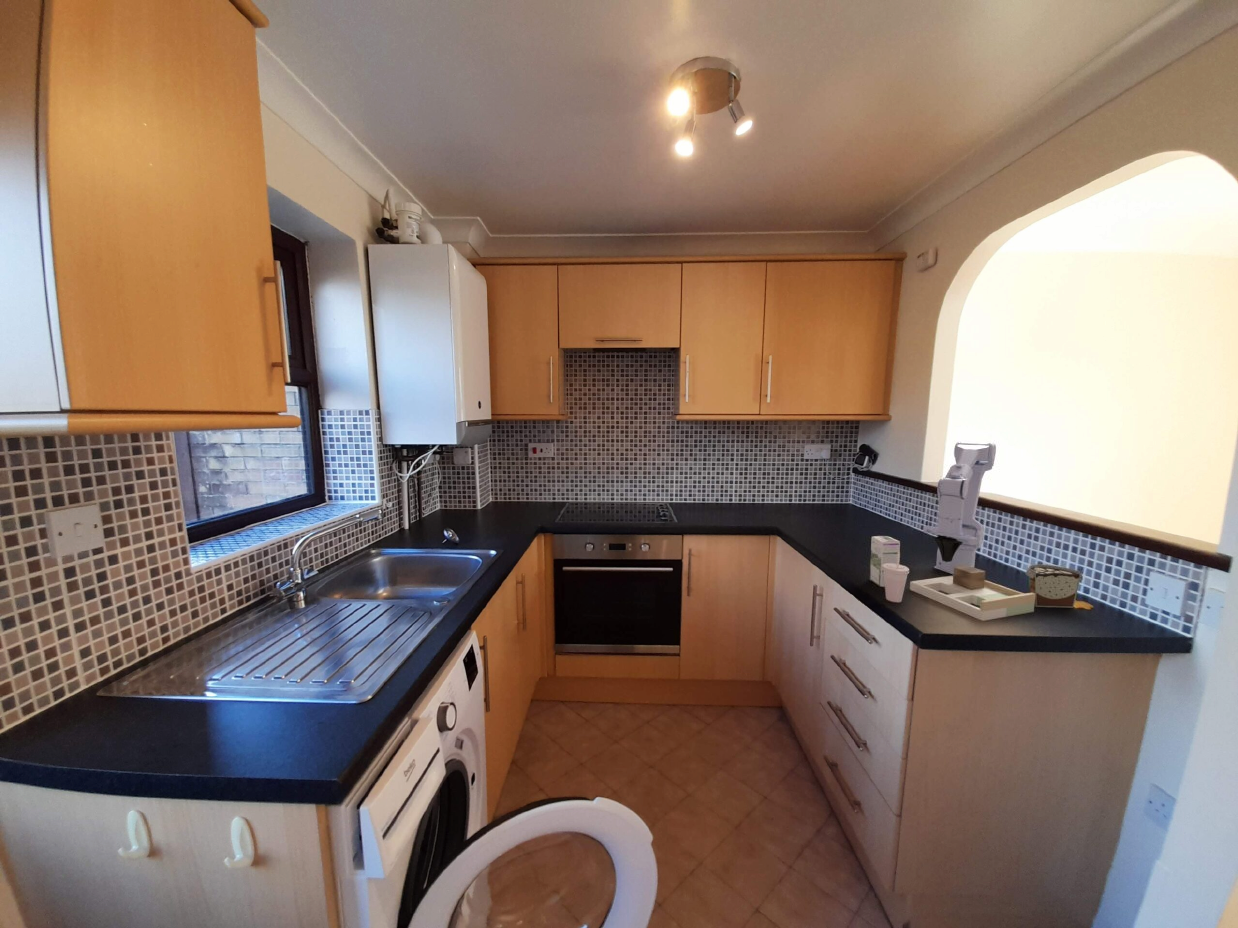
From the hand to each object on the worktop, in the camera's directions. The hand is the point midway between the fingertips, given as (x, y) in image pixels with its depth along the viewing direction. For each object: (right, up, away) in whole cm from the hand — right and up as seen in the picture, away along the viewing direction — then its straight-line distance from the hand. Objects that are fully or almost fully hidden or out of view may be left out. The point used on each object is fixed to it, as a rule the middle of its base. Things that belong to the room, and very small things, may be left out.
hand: (946, 560), depth 126 cm
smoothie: (-22, -9, -8) cm, 25 cm away
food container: (+18, -9, -11) cm, 23 cm away
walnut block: (+2, -6, -6) cm, 8 cm away
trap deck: (-1, -9, -9) cm, 13 cm away
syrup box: (-17, -8, +3) cm, 19 cm away
